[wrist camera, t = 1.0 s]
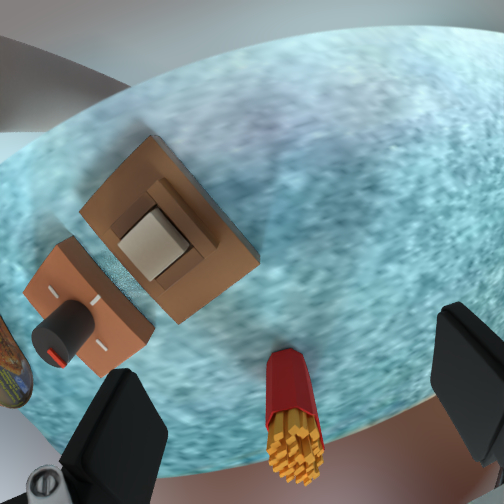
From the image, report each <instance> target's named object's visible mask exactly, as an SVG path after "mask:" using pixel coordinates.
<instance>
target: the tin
mask: <svg viewBox="0 0 504 504" xmlns="http://www.w3.org/2000/svg"><path fill="white" fill-rule="evenodd" d="M32 391H33V375H32V371H31V368H30V365H29V363H28V361H27V360H26V358H25V357H24V355H23V354H22V352H21V350H20V349H19V347H18V346H17V344H16V342H15V341H14V339H13V338H12V336H11V334H10V332H9V331H8V329H7V327H6V325H5V323H4V322H3V320H2V318H1V316H0V406H3V407H6V408H10V409H17V408H20V407H22V406H24V405H25V404H26V403H27V402H28V401H29V399H30V397H31V395H32Z"/></svg>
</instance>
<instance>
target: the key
mask: <svg viewBox="0 0 504 504" xmlns="http://www.w3.org/2000/svg"><path fill="white" fill-rule="evenodd" d="M117 245H118V246H119V247H120V248H121V250H122V251H123V252H124V253H125V254H126V255H127V257H128V258H129V259H130V260H131V261H132V262H133V263H134V265H135V266H136V267H137V268H138V269H139V270H140V271H141V272H142V274H143V275H144V276H145V277H146V278H147V279H148V280H149V281H152V280H153V279H154V278H155V277H156V276H157V275H158V274H160V273H161V272H162V271H163V270H164V269H165V268H167V267H168V266H169V265H170V264H171V263H172V262H174V261H175V260H176V259H177V258H178V257H179V256H181V255H182V254H183V253H184V252H185V251H186V249H187V248H188V247H189V243H188V242H187V241H186V240H185V239H184V238H183V236H182V235H181V234H180V233H179V232H178V231H177V229H176V228H175V227H174V226H173V225H172V224H171V223H170V221H169V220H168V219H167V218H166V217H165V216H164V214H163V213H162V212H161V211H160V210H159V208H156V209H154V210H153V211H151V212H149V213H148V214H147V215H146V216H145V217H144V218H143V219H142V220H141V221H140V222H139V223H138V224H137V225H136V226H135V227H134V228H133V229H132V230H131V231H130V232H129V233H128V234H127V235H126V236H125V237H124V238H123V239H122V240H121V241H120V242H119V243H118V244H117Z"/></svg>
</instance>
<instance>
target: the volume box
mask: <svg viewBox="0 0 504 504" xmlns="http://www.w3.org/2000/svg"><path fill="white" fill-rule="evenodd" d="M23 294H24V295H25V297H26V298H27V299H28V300H29V302H30V303H31V304H32V305H33V307H34V308H35V309H36V310H37V311H38V313H39V314H40V315H41V316H42V317H43V319H46V318H47V317H48V316H49V315H50V314H51V313H52V312H53V311H54V310H56V309H57V308H58V307H59V306H60V305H61V304H62V303H63V302H65V301H67V300H76V301H79V302H80V303H82V304H83V305H85V306H86V307H87V308H88V310H89V311H90V312H91V314H92V316H93V318H94V322H95V329H94V332H93V333H92V335H91V336H90V337H89V338H88V339H87V341H86V342H85V343H84V344H83V346H82V347H81V348H80V349H79V350H78V352H77V353H76V355H77V356H78V357H79V358H80V359H81V360H82V361H83V362H84V363H85V364H86V365H87V366H88V367H89V368H90V369H91V370H93V371H94V372H95V373H96V374H97V375H98V376H99V377H100V378H102V377H103V376H105V375H106V374H107V373H109V372H110V371H111V370H112V369H114V368H116V367H117V366H118V365H120V364H121V363H122V362H124V361H125V360H127V359H128V358H129V357H131V356H132V355H133V354H135V353H136V352H137V351H139V350H140V349H142V348H143V347H144V346H146V345H147V343H148V341H149V339H150V337H151V335H152V334H153V332H154V330H155V327H154V326H153V325H152V324H151V323H150V322H149V321H148V320H147V319H146V318H145V317H144V316H143V315H142V314H141V313H140V312H139V311H138V310H137V309H136V308H135V306H134V305H133V304H132V303H131V302H130V301H129V300H128V299H127V298H126V297H125V296H124V295H123V294H122V292H121V291H120V290H119V289H118V288H117V287H116V286H115V285H114V284H113V282H112V281H111V280H110V279H109V278H108V277H107V276H106V274H105V273H104V272H103V271H102V270H101V269H100V268H99V266H98V265H97V264H96V263H95V262H94V260H93V259H92V258H91V257H90V256H89V254H88V253H87V252H86V251H85V250H84V248H83V247H82V246H81V245H80V243H79V242H78V241H77V240H76V238H75V237H74V236H72V237H70V238H68V239H66V240H64V241H62V242H61V243H59V244H57V245H56V246H55V247H54V249H53V250H52V251H51V253H50V254H49V255H48V257H47V258H46V259H45V261H44V262H43V264H42V265H41V266H40V268H39V269H38V271H37V272H36V274H35V275H34V276H33V278H32V279H31V281H30V282H29V284H28V285H27V287H26V288H25V290H24V291H23Z"/></svg>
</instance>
